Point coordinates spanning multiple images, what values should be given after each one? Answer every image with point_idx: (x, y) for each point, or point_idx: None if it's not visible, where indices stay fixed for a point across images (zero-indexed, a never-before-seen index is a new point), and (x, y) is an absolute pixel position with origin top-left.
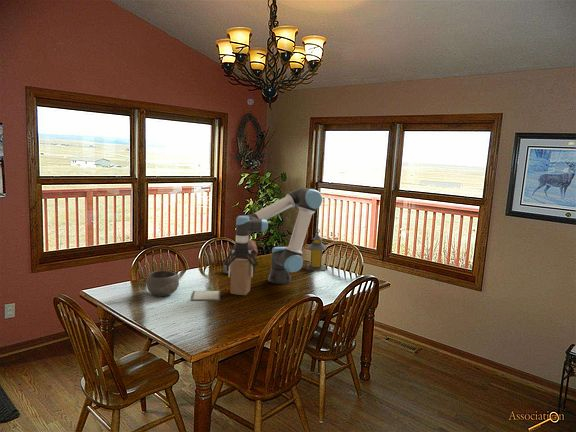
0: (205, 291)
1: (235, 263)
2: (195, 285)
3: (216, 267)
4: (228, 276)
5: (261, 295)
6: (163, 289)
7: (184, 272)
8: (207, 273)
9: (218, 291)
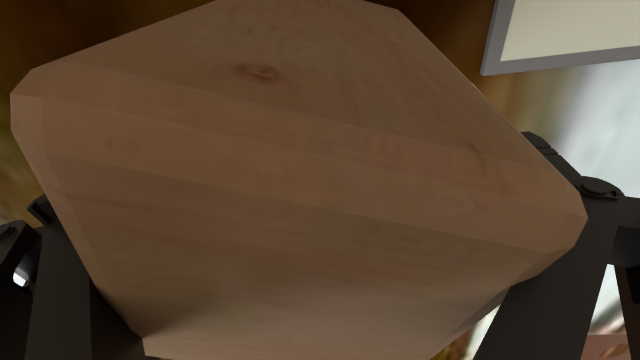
0: (625, 36)
1: (446, 157)
2: (621, 182)
3: (438, 354)
4: (474, 85)
5: (149, 11)
6: None
7: (592, 322)
8: (488, 315)
9: (504, 50)
